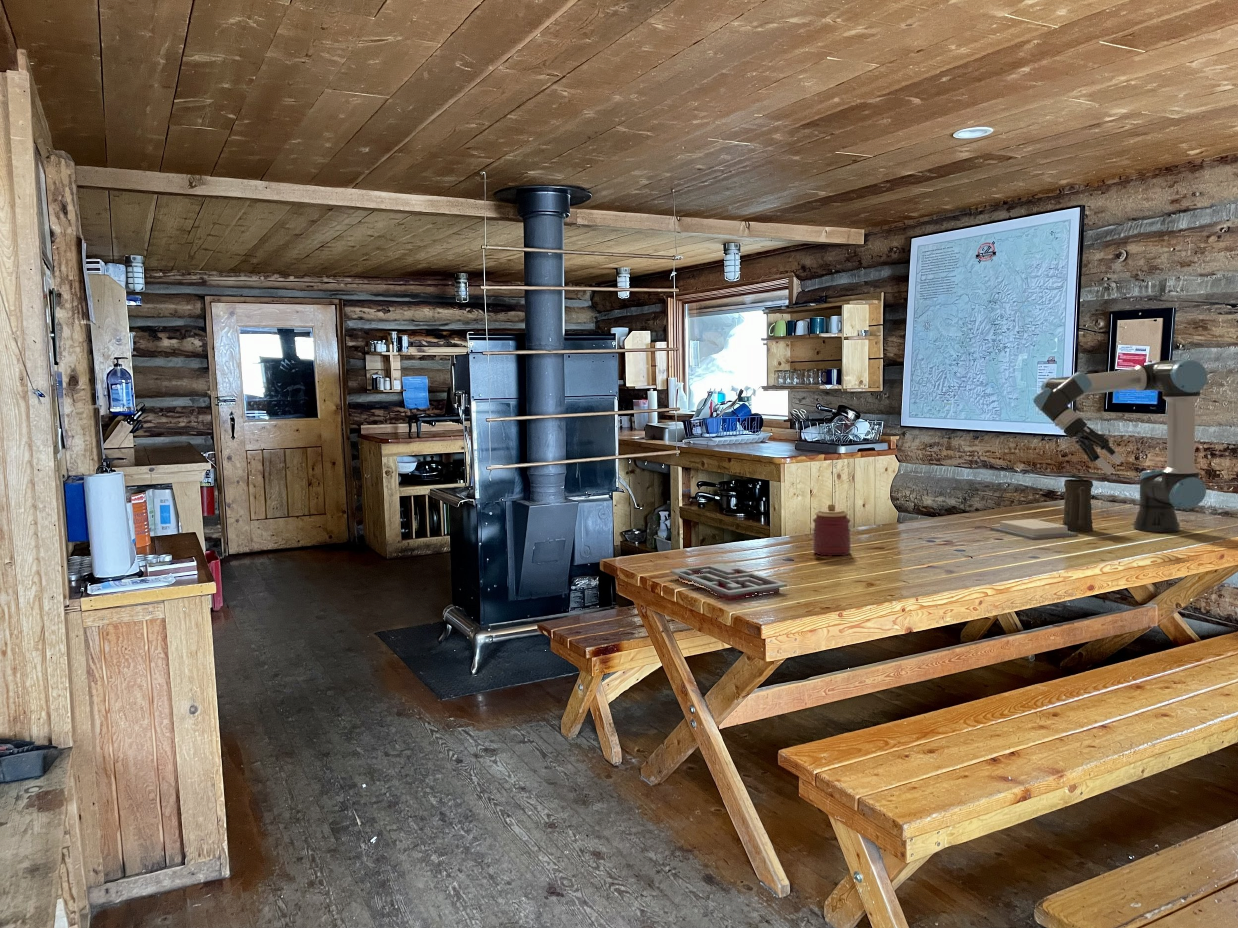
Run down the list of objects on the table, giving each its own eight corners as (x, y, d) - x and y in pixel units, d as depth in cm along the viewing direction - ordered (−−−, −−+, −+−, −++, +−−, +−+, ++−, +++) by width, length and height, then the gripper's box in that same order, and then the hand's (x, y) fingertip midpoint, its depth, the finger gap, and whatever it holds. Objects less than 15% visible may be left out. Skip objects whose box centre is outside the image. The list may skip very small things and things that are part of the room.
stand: (1033, 526, 356) (1033, 517, 355) (1077, 535, 332) (1078, 526, 332) (990, 529, 351) (990, 520, 350) (1032, 539, 327) (1032, 530, 327)
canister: (821, 548, 322) (821, 500, 320) (856, 551, 315) (856, 502, 313) (807, 554, 312) (806, 505, 310) (842, 558, 304) (842, 507, 302)
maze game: (787, 594, 256) (787, 583, 256) (729, 603, 248) (729, 592, 248) (723, 572, 288) (723, 563, 288) (670, 579, 280) (670, 569, 280)
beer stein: (1057, 527, 351) (1059, 477, 348) (1086, 527, 350) (1088, 477, 346) (1071, 536, 336) (1073, 485, 333) (1101, 536, 335) (1104, 484, 331)
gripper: (1056, 441, 331) (1100, 483, 323) (1068, 419, 308) (1115, 463, 300) (1073, 428, 331) (1116, 470, 322) (1086, 405, 308) (1133, 450, 299)
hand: (1116, 467), depth 311 cm, fingers open, 13 cm apart
